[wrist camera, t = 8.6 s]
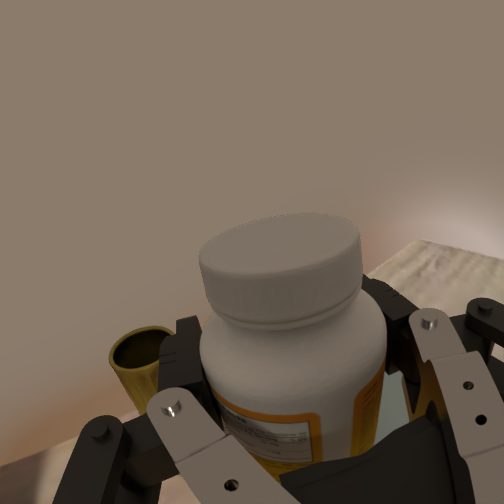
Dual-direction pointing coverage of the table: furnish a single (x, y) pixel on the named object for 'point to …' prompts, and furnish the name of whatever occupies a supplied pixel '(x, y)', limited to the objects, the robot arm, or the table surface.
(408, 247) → the table surface
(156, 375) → the vase
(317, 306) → the supplement bottle
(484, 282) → the table surface
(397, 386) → the slate pad
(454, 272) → the table surface
